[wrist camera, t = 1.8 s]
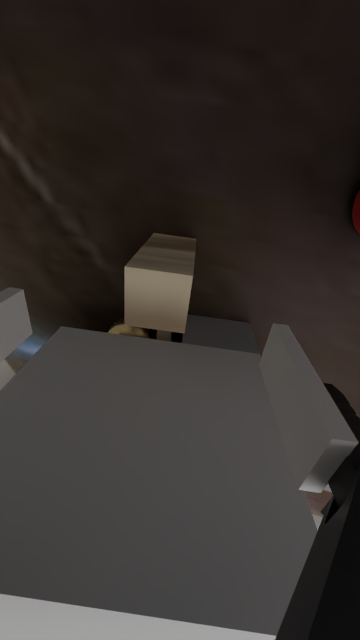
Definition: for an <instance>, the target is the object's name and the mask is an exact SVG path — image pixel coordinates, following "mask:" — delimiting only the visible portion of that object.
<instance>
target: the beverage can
mask: <svg viewBox="0 0 360 640" xmlns="http://www.w3.org/2000/svg"><path fill="white" fill-rule="evenodd" d="M352 219H353V224H354V227H355V229H356V231H357V232H358V233H359V235H360V190H359V192H358V194H357V196H356V198H355V201H354V205H353V210H352Z"/></svg>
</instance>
